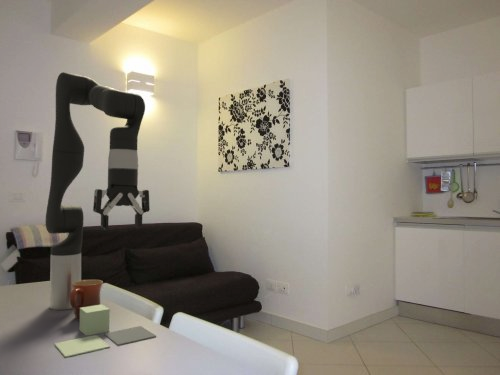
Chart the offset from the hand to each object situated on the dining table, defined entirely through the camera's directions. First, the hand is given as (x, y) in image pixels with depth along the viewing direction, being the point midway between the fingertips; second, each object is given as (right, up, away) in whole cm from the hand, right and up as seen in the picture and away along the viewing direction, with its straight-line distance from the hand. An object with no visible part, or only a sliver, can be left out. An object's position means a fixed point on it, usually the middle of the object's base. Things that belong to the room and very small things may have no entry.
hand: (121, 228), depth 107 cm
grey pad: (+3, -28, -2) cm, 28 cm away
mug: (-15, -28, +13) cm, 35 cm away
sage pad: (-7, -27, -9) cm, 30 cm away
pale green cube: (-8, -28, +3) cm, 29 cm away
